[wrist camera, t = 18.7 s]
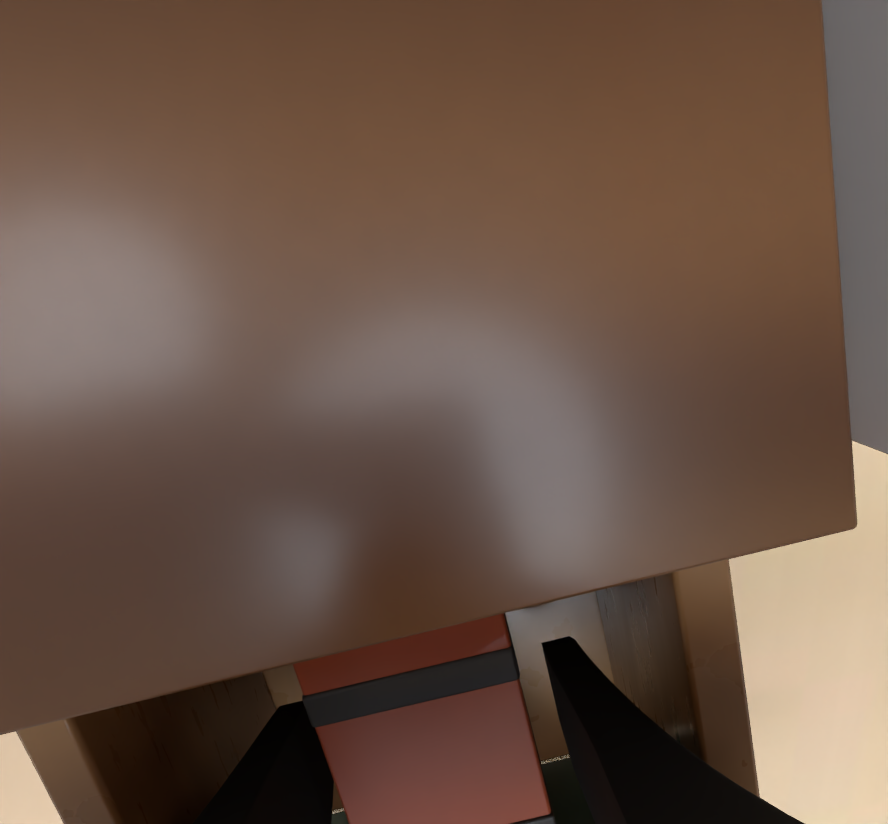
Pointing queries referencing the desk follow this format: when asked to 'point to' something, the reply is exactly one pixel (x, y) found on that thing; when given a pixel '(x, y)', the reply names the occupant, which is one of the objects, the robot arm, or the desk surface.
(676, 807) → the robot arm
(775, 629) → the desk surface
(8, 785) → the desk surface
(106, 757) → the drawer
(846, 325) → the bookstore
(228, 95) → the cabinet
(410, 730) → the block
